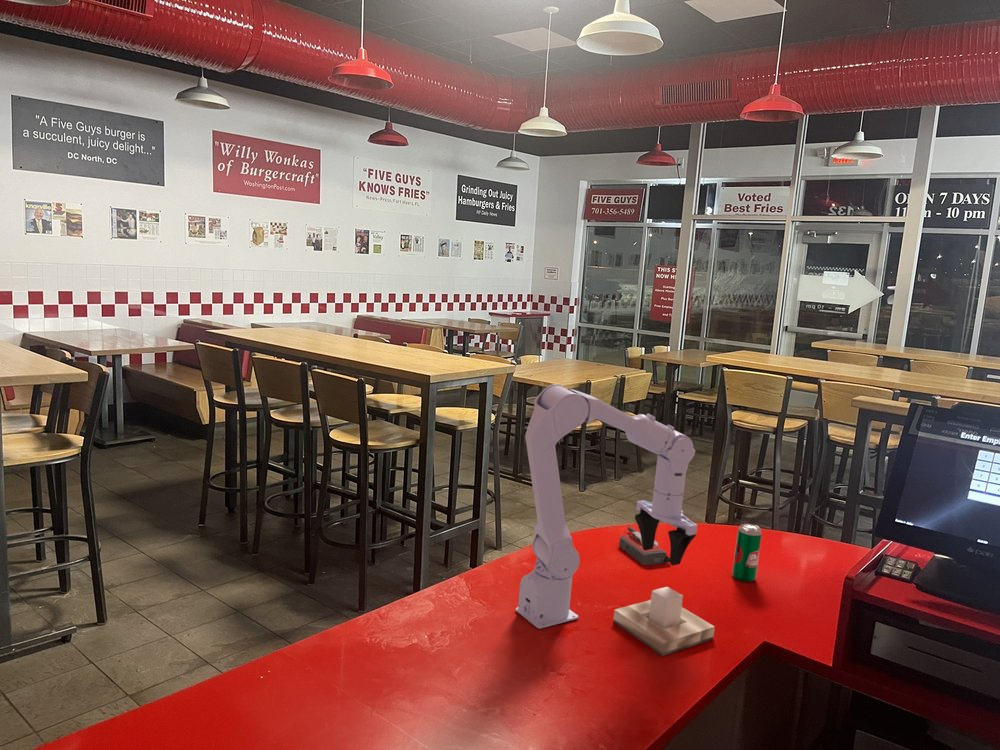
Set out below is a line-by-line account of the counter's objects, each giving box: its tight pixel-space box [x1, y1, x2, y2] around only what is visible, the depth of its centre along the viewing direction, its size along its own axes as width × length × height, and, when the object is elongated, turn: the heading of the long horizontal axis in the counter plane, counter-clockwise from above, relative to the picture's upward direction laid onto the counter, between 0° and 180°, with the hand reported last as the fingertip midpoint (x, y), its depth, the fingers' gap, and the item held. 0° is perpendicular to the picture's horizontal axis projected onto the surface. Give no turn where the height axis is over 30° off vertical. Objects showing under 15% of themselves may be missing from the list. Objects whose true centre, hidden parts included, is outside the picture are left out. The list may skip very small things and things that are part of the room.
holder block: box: [613, 599, 715, 657], centre depth 135 cm, size 13×13×2 cm
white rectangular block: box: [649, 586, 684, 629], centre depth 134 cm, size 4×4×7 cm
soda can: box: [731, 523, 763, 583], centre depth 160 cm, size 5×5×12 cm
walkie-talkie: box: [618, 526, 670, 566], centre depth 173 cm, size 9×4×20 cm
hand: (661, 556), depth 143 cm, fingers open, 7 cm apart
